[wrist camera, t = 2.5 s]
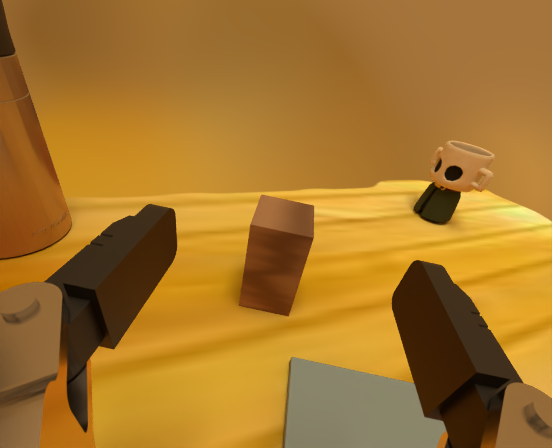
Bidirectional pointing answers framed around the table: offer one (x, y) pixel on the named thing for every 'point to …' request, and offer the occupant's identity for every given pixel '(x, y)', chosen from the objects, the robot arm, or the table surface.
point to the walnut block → (276, 254)
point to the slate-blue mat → (353, 410)
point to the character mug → (454, 178)
